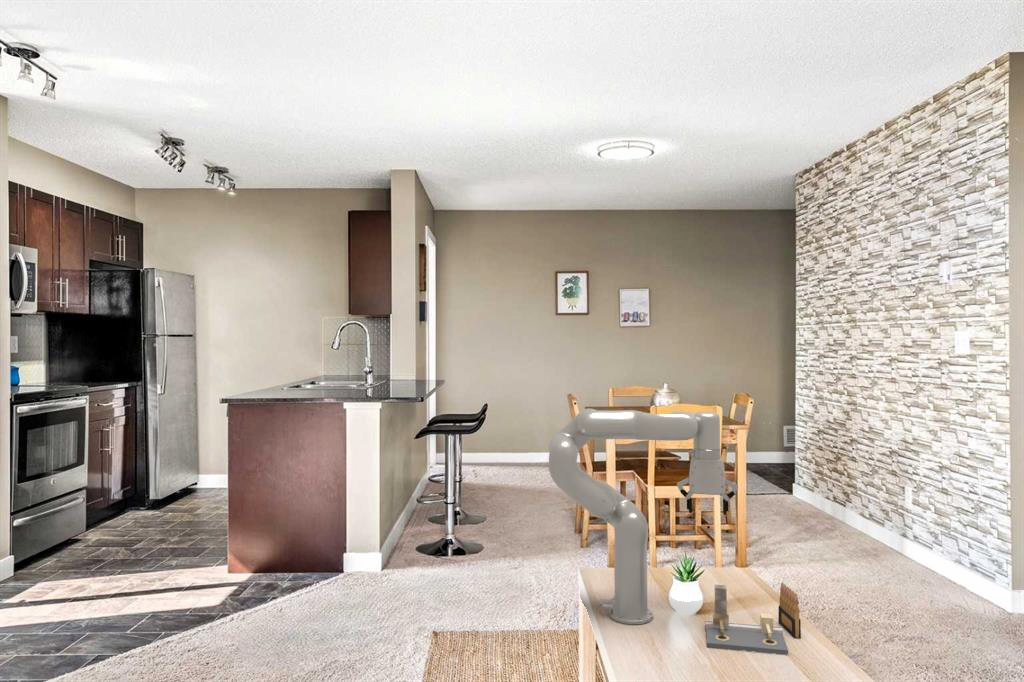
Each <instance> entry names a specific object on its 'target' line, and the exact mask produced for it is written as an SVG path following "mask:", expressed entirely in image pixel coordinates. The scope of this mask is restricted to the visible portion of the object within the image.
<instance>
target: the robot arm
mask: <svg viewBox="0 0 1024 682" xmlns="http://www.w3.org/2000/svg"><path fill="white" fill-rule="evenodd" d="M691 439H693V448H692V449H688V455H690V456H693V457H691V459H690V464H689V473H688V476H689V477H687V478H685V479H682V480H681V481H678V482H676V487H677V488H678V491H679V492H680V494H681V495H682V496H683V497H685V499H686V510H687V511H688V510H689V511H688V512H689V514H692V512H693V511H692V510H693V507H692V506H693V505H692V497H693V496H694V494H695V495H708V496H709V495H710V496H711V495H712V496H713V495H714V496H715V495H716V496H721V497H722V498H723V499H722V513H723V515H724V516H726V515H727V512H729V501H730V500H731V499H732V498H733V497H735V494H736V492H737V490H738V489H739V485H738V484H736V483H734V482H732V481H731V480H729V479H726V470H725V463H724V460H723V459H722V458H721V418H720V414H718V413H717V412H713V411H710V412H709V411H700V412H690V411H689V412H688V411H683V410H676V411H672V412H670V413H669V414H667V413H666V414H665V413H663V414H661V413H660V414H658V413H649V412H644V411H639V410H635V409H634V410H633V409H629V410H628V409H627V410H625V409H623V410H622V409H621V410H619V409H618V410H605V409H602V410H599V409H595V408H584V409H583V410H581V411H580V412H579V413H577V414H576V415H575V416H574V417H573V418H572V419H571V420H570V421H569V422H568V423H567V424H566V425H565V426H563V428H561V429H560V430H559V431H558V432H557V433H556V434H555V435H554V436H553V437H552V438H551V439H550V440H549V441H550V442H549V443H548V451H549V453H548V471H549V474H550V477H551V479H552V481H553V482H554V484H555V485H556V487H558V488H559V489H560V490H561V491H563V492H564V493H565V494H567V496H569V497H570V498H571V499H572V500H574V501H575V502H576V503H577V504H578V505H580V507H582V508H583V509H585V510H586V511H587V512H588V513H590V514H591V515H592V516H593V517H595V518H597V519H598V518H599V519H603V521H605V522H607V524H609V525H610V526H611V527H613V530H614V546H613V547H614V548H613V550H614V551H613V563H614V565H613V566H614V568H613V569H614V571H613V572H614V574H613V575H614V578H613V579H614V597H613V598H611V599H605V598H600V599H599V607H602V609H606V610H607V609H609V611H608V613H609V617H610V619H612V620H613V621H614V622H615V621H616V622H618V623H621V624H626V625H643V624H646V623H647V624H648V623H649V622H651V621H652V620H653V619H654V614H653V613H654V612H653V611H652V610H651V609H649V608H648V542H649V541H648V540H649V525H648V522H647V521H648V520H647V518H646V517H645V515H644V514H643V512H642V511H641V510H640V508H639V507H638V506H637V505H636V504H635V503H633V502H632V500H630V499H628V498H627V497H626V496H625V495H623V494H622V493H621V492H620V491H618V490H616V489H615V488H614V487H613V486H611V485H610V484H609V483H607V482H605V481H603V480H596V479H595V478H593V477H592V476H591V475H590V474H589V473H587V472H586V471H585V470H583V469H582V468H581V467H580V466H579V464H578V456H579V451H580V450H581V449H583V447H585V446H586V444H588V443H589V442H590V441H591V440H639V441H644V440H645V441H647V440H648V441H667V442H668V441H674V442H675V441H689V440H691ZM687 484H688V486H689V487H688V489H689V490H688V491H687V490H685V489H684V487H683V486H685V485H687ZM726 485H727V486H728V487H730V488H731V490H730V491H729V492H728V493H726Z"/></svg>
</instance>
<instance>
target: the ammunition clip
mask: <svg viewBox="0 0 1024 682" xmlns="http://www.w3.org/2000/svg"><path fill="white" fill-rule="evenodd" d="M779 590H780V591H779V605H778V617H777V618H778V620H777V622H778V625H780V626H781V627H782V629H783V630H785V631H786V632H787V633H788V635H790V636H791V637H792V638H793V639H802V632H801V631H802V630H801V629H802V626H801V621H802V620H801V618H800V607H799V597H798V594H797V592H795V591H794V590H792V589H791V588H790V587H789V585H788V586H787V584H785V583H784V582H783V581H782V582H781V584H780V589H779Z"/></svg>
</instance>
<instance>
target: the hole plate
mask: <svg viewBox="0 0 1024 682" xmlns="http://www.w3.org/2000/svg"><path fill="white" fill-rule="evenodd" d="M773 616H774V615H772V613H762V612H761V613H759V618H760V620H759V622H760V623H759V625H758V624H757V625H756V624H745V623H734V622H729V626H726V625H723V627H724V635H723V636H722V635H721V630H720V625H714V624H713V620H712V621H711V620H705V634H706V636H705V637H706V648H710V649H721V650H729V649H730V650H731V651H732V650H733V651H740V650H746V651H745V652H750V651H755V652H754V653H761V652H762V654H764V653H765V654H771V653H776V655H782V654H788V655H789V648H788V645H787V643H786V639H785V637H784V629H783V627H782V626H781V627H782V628H781V627H780V626H774V617H773Z"/></svg>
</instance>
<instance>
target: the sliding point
mask: <svg viewBox="0 0 1024 682" xmlns="http://www.w3.org/2000/svg"><path fill="white" fill-rule="evenodd" d="M727 595H728V594H727V585H726V584H725V585H724V584H714V609H712V621H713V624H714V625H720V630H721V635H722V636H723V635H724V627H723V625H726V626H729V623H730V622H729V621H730V620H729V618H730V617H729V616H730V615H729V611H728V609H727V608H728V607H727V599H728V598H727Z"/></svg>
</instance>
